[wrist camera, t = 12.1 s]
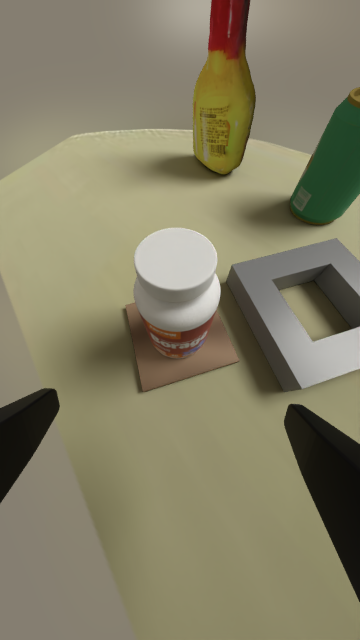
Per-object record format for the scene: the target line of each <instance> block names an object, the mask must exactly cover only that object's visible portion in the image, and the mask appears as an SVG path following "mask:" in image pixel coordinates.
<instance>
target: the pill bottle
mask: <svg viewBox="0 0 360 640" xmlns="http://www.w3.org/2000/svg"><path fill="white" fill-rule="evenodd" d="M134 266H135V270H136V273H137V278H136V281H135V284H134V300H135V303H136V306H137V309H138V311H139V314H140V316H141V318H142V321H143V323H144V325H145V328H146V330H147V333H148V335H149V337H150V340H151V342H152V344H153V345H154V347H155V348H156V349H157V350H158V351H159V352H160V353H162V354H163V355H165V356H167V357H171V358H186V357H189V356H191V355H193V354H195V353H196V352H197V351H199V350H200V349H201V347H202V346H203V344H204V343H205V341H206V338H207V335H208V332H209V330H210V327H211V324H212V321H213V318H214V315H215V313H216V310H217V307H218V303H219V300H220V292H221V290H220V283H219V280H218V277H217V275H216V273H215V271H216V266H217V253H216V250H215V248H214V246H213V245H212V243H211V242H210V241H209V240H208V239H207V238H206V237H205V236H203V235H202V234H200V233H198V232H196V231H193V230H189V229H185V228H167V229H162V230H159V231H156V232H154V233H152V234H150V235H149V236H147V237H146V238H145V239H143V240H142V241H141V243H140V244H139V245H138V247H137V249H136V251H135V254H134Z"/></svg>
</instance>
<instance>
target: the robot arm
mask: <svg viewBox="0 0 360 640" xmlns="http://www.w3.org/2000/svg"><path fill="white" fill-rule="evenodd" d="M59 407H60V405H59V400H58V396H57V391H56V390H55V389H51V388H44V389H41V390H39V391H37V392H34V393H33V394H30V395H28V396H26V397H24V398H22V399H19V400H17V401H15V402H13V403H11V404H9V405H6V406H4V407H2V408H0V503H1V502H2V500H3V499H4V497H5V496H6V494H7V493H8V491H9V490H10V489H11V487H12V486H13V484H14V483H15V481H16V480H17V478H18V477H19V475H20V474H21V472H22V471H23V469H24V468H25V466H26V465H27V463H28V462H29V461H30V459H31V457H32V456H33V454H34V452H35V451H36V450H37V448H38V446H39V444H40V443H41V441H42V439H43V438H44V436H45V434H46V432H47V431H48V429H49V427H50V425H51V423H52V422H53V420H54V418H55V417H56V415H57V413H58V411H59ZM284 426H285V429H286V432H287V435H288V438H289V441H290V443H291V446H292V449H293V452H294V455H295V457H296V460H297V463H298V466H299V469H300V471H301V474H302V476H303V478H304V481H305V483H306V485H307V488H308V490H309V492H310V494H311V496H312V499H313V501H314V503H315V505H316V507H317V510H318V512H319V514H320V516H321V518H322V521H323V523H324V525H325V527H326V529H327V531H328V534H329V536H330V538H331V540H332V542H333V545H334V547H335V549H336V551H337V553H338V556H339V558H340V560H341V562H342V564H343V567H344V569H345V571H346V573H347V575H348V578H349V580H350V582H351V584H352V586H353V589H354V591H355V593H356V595H357V597H358V600H359V602H360V444H359V443H357V442H356V441H354V440H353V439H352V438H350V437H349V436H347V435H346V434H344V433H343V432H341V431H340V430H338V429H337V428H335V427H334V426H332V425H331V424H329V423H328V422H327V421H325V420H324V419H322V418H321V417H319V416H318V415H316V414H315V413H313V412H312V411H310V410H309V409H307V408H306V407H304V406H303V405H300V404H290V405H289V406H288V408H287V412H286V416H285V419H284Z"/></svg>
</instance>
